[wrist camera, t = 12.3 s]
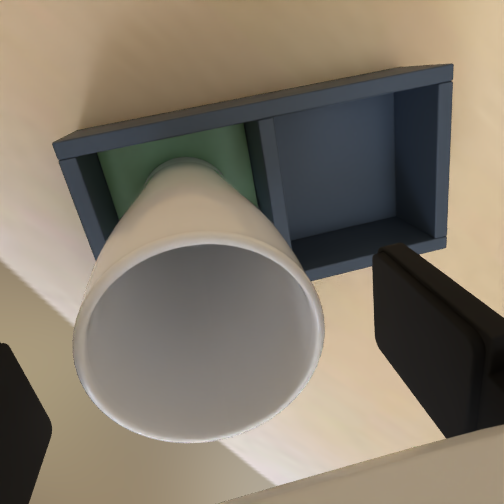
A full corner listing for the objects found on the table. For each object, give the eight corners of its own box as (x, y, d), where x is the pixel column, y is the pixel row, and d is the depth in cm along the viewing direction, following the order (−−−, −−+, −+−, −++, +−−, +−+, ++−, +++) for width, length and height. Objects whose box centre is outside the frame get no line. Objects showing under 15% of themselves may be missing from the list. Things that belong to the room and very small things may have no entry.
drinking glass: (206, 268, 26) (243, 472, 12) (108, 218, 23) (20, 404, 10) (263, 181, 24) (378, 304, 11) (164, 117, 22) (151, 175, 8)
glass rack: (76, 130, 22) (50, 142, 17) (400, 66, 24) (454, 63, 19) (130, 285, 26) (121, 328, 22) (401, 221, 28) (447, 248, 24)
